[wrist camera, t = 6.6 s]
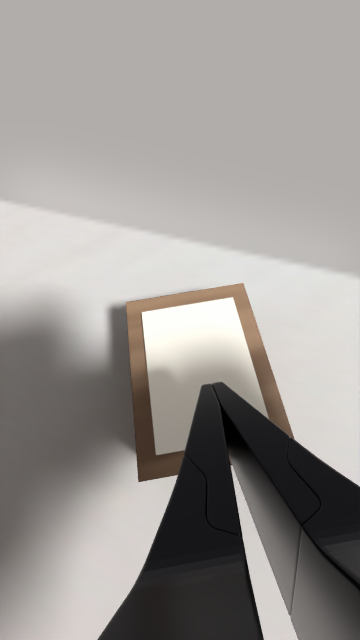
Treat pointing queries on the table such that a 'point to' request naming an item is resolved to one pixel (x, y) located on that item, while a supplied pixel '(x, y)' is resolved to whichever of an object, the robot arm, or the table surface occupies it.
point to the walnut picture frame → (192, 368)
